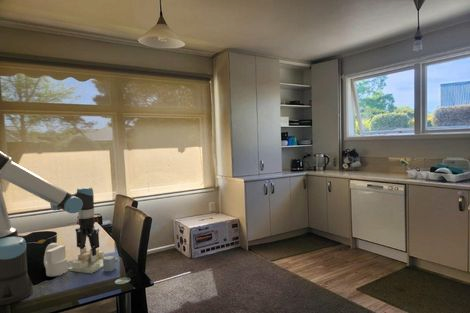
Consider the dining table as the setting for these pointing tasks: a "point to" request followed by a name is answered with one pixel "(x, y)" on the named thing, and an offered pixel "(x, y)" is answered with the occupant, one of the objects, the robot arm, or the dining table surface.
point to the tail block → (109, 263)
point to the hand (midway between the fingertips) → (88, 261)
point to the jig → (88, 265)
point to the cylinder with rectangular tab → (56, 261)
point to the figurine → (49, 249)
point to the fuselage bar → (87, 256)
